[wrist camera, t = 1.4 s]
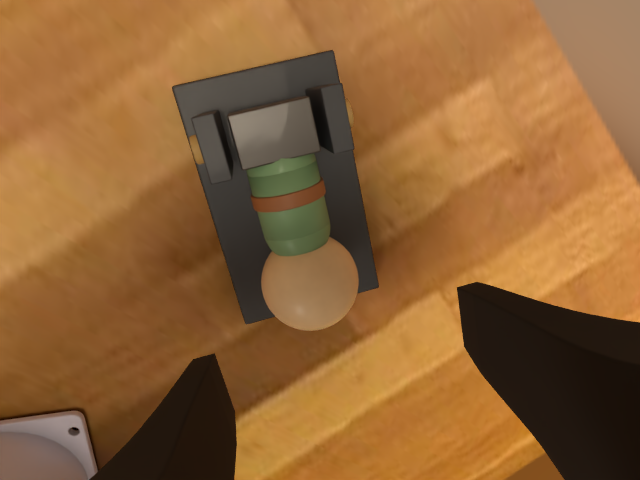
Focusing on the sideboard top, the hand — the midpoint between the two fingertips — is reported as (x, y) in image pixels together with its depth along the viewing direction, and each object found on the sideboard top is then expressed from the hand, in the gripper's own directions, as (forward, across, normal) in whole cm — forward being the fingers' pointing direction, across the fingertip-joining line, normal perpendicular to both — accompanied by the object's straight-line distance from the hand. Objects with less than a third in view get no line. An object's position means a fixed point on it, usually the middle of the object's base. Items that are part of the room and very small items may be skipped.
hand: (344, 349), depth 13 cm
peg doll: (+7, 0, -7) cm, 10 cm away
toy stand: (+10, 0, -2) cm, 11 cm away
